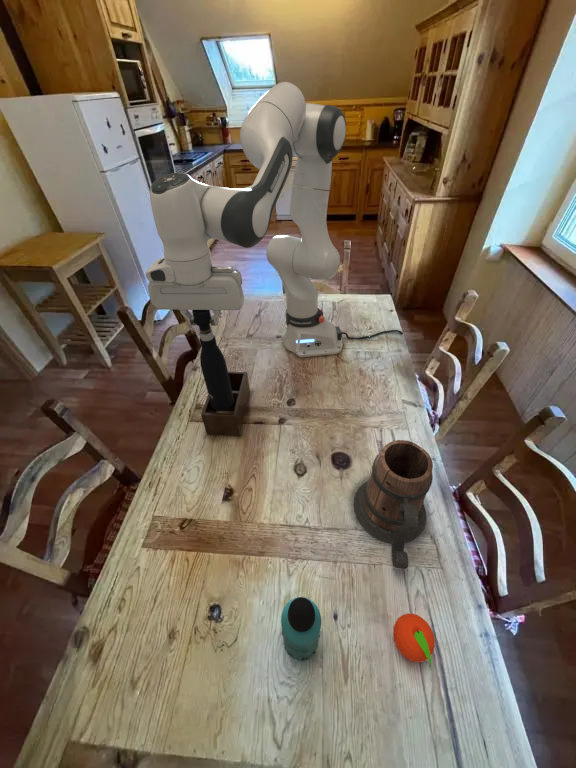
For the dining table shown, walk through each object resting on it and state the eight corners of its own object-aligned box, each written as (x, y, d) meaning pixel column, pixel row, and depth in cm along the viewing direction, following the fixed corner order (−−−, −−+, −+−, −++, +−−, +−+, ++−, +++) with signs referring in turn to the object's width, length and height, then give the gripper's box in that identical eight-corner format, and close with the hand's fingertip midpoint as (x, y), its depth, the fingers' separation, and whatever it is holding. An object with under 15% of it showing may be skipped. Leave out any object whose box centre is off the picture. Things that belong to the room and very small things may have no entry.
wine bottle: (235, 394, 99) (217, 302, 79) (230, 411, 95) (210, 317, 74) (214, 393, 100) (191, 302, 79) (208, 409, 95) (182, 316, 75)
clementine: (441, 662, 60) (453, 655, 55) (407, 680, 59) (416, 673, 54) (414, 613, 66) (423, 601, 61) (382, 627, 64) (389, 617, 59)
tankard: (352, 474, 88) (361, 424, 75) (419, 480, 87) (441, 429, 73) (355, 572, 71) (367, 529, 58) (439, 581, 70) (471, 539, 56)
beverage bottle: (282, 622, 65) (276, 588, 52) (316, 619, 65) (319, 584, 52) (284, 666, 60) (279, 641, 47) (321, 662, 61) (327, 636, 47)
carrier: (250, 391, 113) (247, 371, 107) (239, 436, 99) (235, 416, 93) (221, 390, 113) (216, 370, 108) (207, 435, 100) (200, 414, 94)
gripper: (242, 260, 72) (250, 317, 81) (148, 260, 73) (166, 316, 83) (237, 273, 67) (245, 332, 76) (137, 273, 69) (157, 331, 78)
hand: (203, 324), depth 79 cm, fingers closed on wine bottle, 4 cm apart
